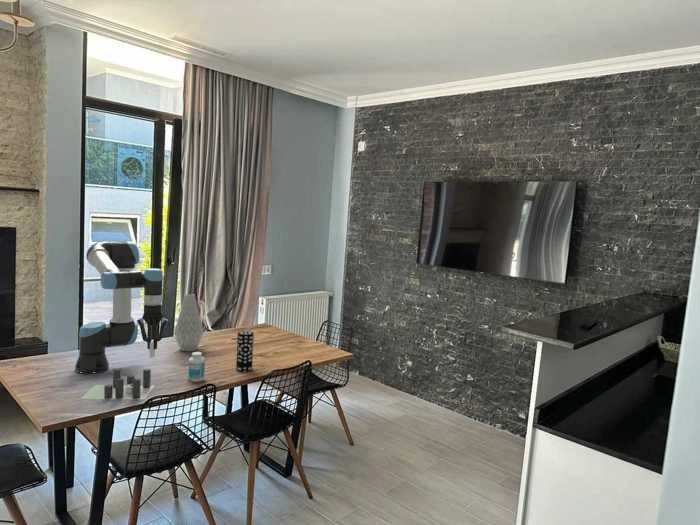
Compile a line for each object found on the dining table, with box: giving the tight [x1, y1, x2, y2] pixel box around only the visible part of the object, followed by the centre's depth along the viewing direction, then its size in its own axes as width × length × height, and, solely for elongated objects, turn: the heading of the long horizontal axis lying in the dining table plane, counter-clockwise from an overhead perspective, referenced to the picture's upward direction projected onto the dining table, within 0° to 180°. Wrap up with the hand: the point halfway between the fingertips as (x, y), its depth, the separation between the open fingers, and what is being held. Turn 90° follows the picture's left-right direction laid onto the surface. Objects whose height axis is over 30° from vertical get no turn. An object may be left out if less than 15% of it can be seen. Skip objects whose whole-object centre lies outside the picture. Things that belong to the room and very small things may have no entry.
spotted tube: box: [235, 330, 254, 373], centre depth 266 cm, size 8×8×20 cm
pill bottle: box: [188, 351, 206, 383], centre depth 247 cm, size 8×7×14 cm
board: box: [80, 384, 155, 400], centre depth 223 cm, size 26×17×1 cm, turn 98°
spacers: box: [104, 368, 152, 400], centre depth 223 cm, size 16×16×8 cm
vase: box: [173, 293, 204, 352], centre depth 297 cm, size 17×17×33 cm
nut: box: [126, 384, 133, 395], centre depth 224 cm, size 5×6×3 cm
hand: (152, 356), depth 223 cm, fingers closed
